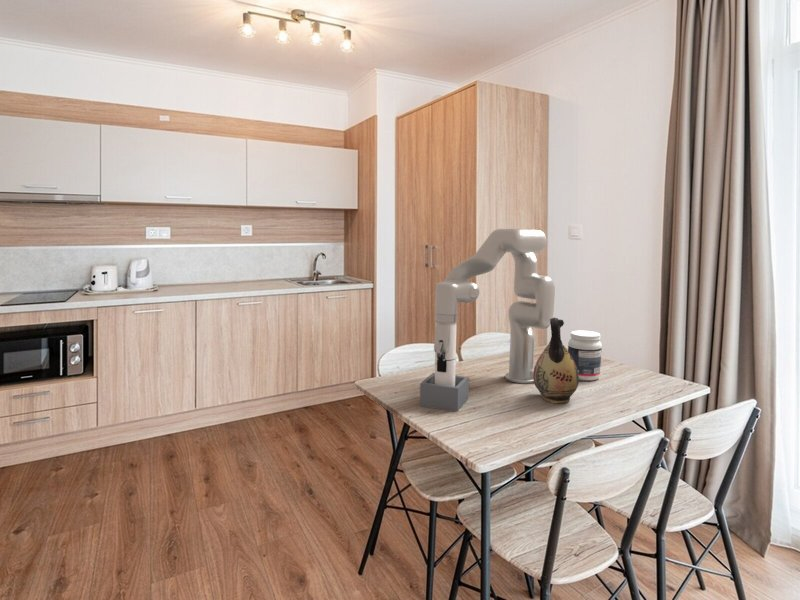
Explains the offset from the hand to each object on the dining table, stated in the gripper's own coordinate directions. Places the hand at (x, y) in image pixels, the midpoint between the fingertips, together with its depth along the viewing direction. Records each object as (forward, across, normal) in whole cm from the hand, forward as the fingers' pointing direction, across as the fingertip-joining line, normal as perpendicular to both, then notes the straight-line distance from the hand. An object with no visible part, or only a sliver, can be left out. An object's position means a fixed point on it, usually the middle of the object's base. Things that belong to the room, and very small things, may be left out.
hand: (445, 368), depth 169 cm
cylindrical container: (+9, 0, 0) cm, 9 cm away
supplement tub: (+12, -51, +43) cm, 68 cm away
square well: (+12, 0, 0) cm, 12 cm away
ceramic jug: (+12, -18, +35) cm, 41 cm away
